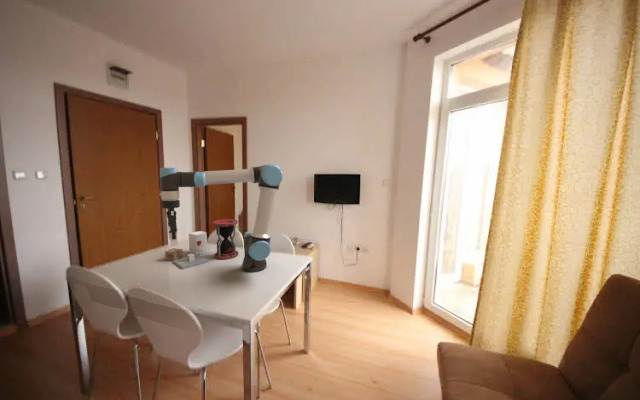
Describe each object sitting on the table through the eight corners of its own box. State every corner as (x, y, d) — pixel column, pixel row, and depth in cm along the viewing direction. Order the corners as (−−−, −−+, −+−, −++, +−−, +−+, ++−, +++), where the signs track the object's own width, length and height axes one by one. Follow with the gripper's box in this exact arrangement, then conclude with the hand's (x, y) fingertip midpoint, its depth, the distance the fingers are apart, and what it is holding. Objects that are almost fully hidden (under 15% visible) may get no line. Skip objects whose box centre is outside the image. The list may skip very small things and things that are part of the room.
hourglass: (228, 260, 163) (227, 224, 160) (209, 258, 167) (207, 222, 165) (242, 253, 178) (242, 220, 175) (224, 251, 183) (223, 218, 180)
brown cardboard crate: (173, 256, 170) (173, 247, 169) (182, 257, 168) (182, 248, 168) (165, 260, 163) (165, 251, 162) (174, 261, 161) (174, 251, 161)
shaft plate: (198, 256, 171) (198, 249, 170) (208, 261, 160) (208, 254, 160) (173, 262, 159) (172, 254, 158) (182, 269, 148) (182, 260, 148)
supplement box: (195, 255, 173) (194, 234, 171) (189, 253, 177) (188, 233, 176) (207, 252, 180) (206, 232, 178) (200, 249, 185) (200, 230, 183)
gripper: (160, 197, 125) (163, 237, 128) (162, 202, 105) (165, 250, 107) (177, 197, 129) (179, 235, 132) (182, 201, 109) (184, 247, 112)
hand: (173, 242), depth 120 cm, fingers open, 13 cm apart
